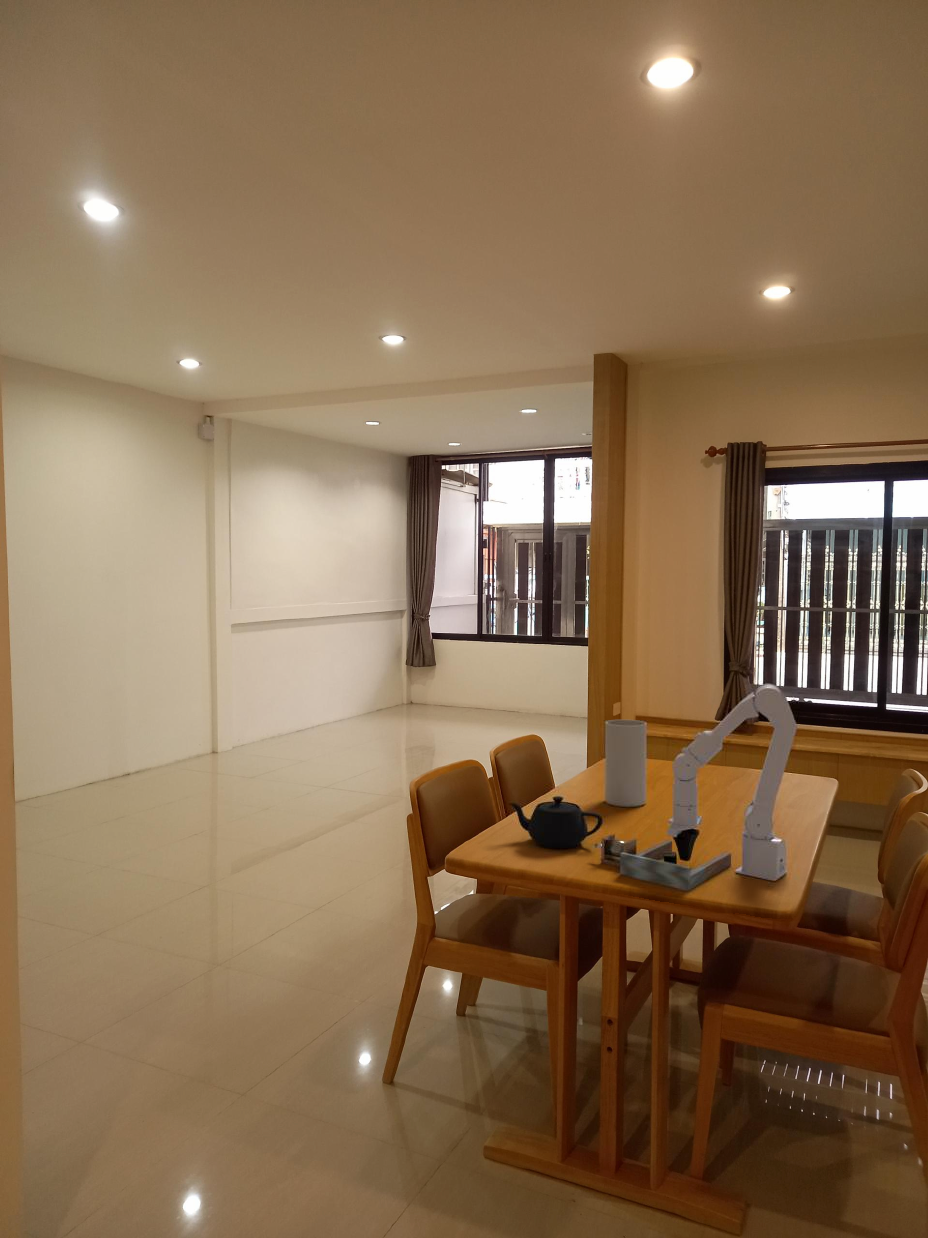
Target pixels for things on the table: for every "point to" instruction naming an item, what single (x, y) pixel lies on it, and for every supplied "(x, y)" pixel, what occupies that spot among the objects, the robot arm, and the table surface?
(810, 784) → the table surface
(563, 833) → the teapot
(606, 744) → the cylinder vase
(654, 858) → the bay
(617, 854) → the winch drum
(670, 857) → the black holder block
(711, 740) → the robot arm
